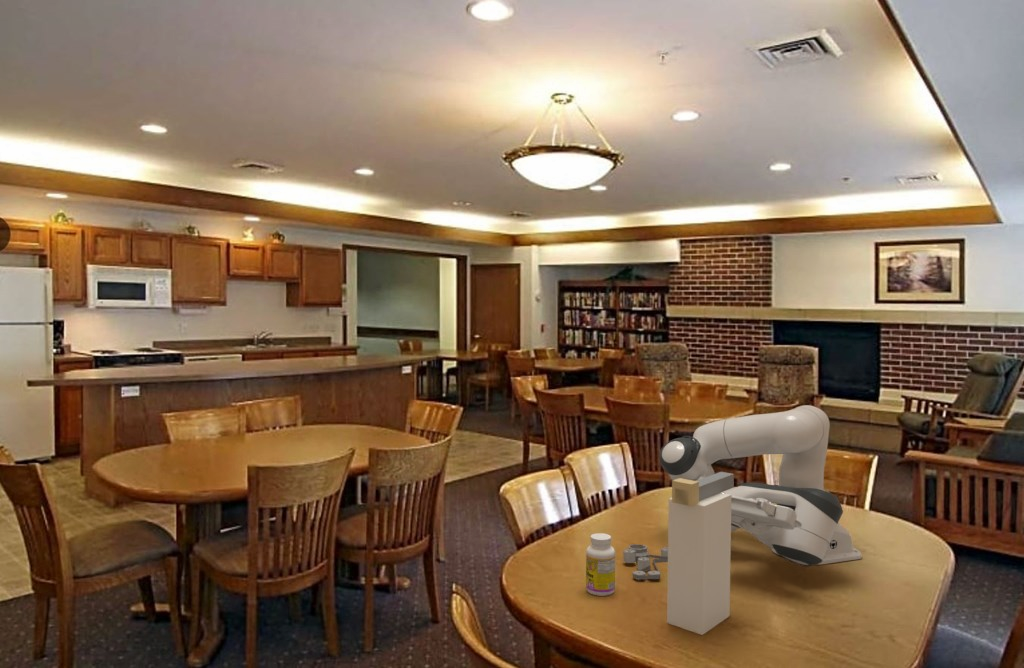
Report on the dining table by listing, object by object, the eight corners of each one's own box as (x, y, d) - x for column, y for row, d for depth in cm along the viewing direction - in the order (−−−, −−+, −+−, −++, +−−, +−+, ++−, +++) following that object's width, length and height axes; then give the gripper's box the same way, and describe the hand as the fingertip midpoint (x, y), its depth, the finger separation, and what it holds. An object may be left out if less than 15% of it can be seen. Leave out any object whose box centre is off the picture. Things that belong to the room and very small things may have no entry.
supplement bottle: (583, 585, 166) (583, 531, 165) (611, 585, 166) (611, 531, 166) (588, 597, 159) (589, 541, 159) (617, 596, 160) (618, 540, 159)
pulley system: (598, 574, 176) (651, 587, 166) (598, 555, 176) (650, 566, 166) (655, 550, 196) (705, 560, 186) (655, 533, 197) (705, 542, 186)
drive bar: (718, 484, 158) (718, 464, 158) (736, 488, 155) (736, 468, 155) (671, 502, 143) (672, 480, 143) (691, 506, 140) (691, 484, 140)
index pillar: (695, 604, 156) (697, 487, 155) (730, 615, 150) (732, 494, 149) (667, 622, 147) (668, 498, 146) (702, 635, 141) (704, 506, 140)
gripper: (801, 540, 162) (782, 522, 153) (718, 521, 176) (695, 503, 167) (807, 514, 165) (788, 495, 155) (724, 497, 178) (702, 478, 169)
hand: (739, 499), depth 161 cm, fingers open, 8 cm apart
